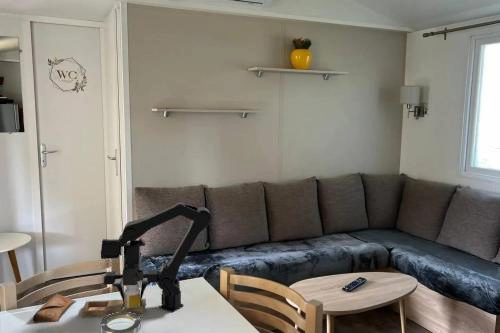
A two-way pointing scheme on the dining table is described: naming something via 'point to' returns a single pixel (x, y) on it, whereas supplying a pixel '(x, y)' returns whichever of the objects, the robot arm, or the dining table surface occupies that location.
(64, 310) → the sunglasses case
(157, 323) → the dining table surface
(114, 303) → the walnut dock
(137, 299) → the supplement bottle
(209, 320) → the dining table surface
